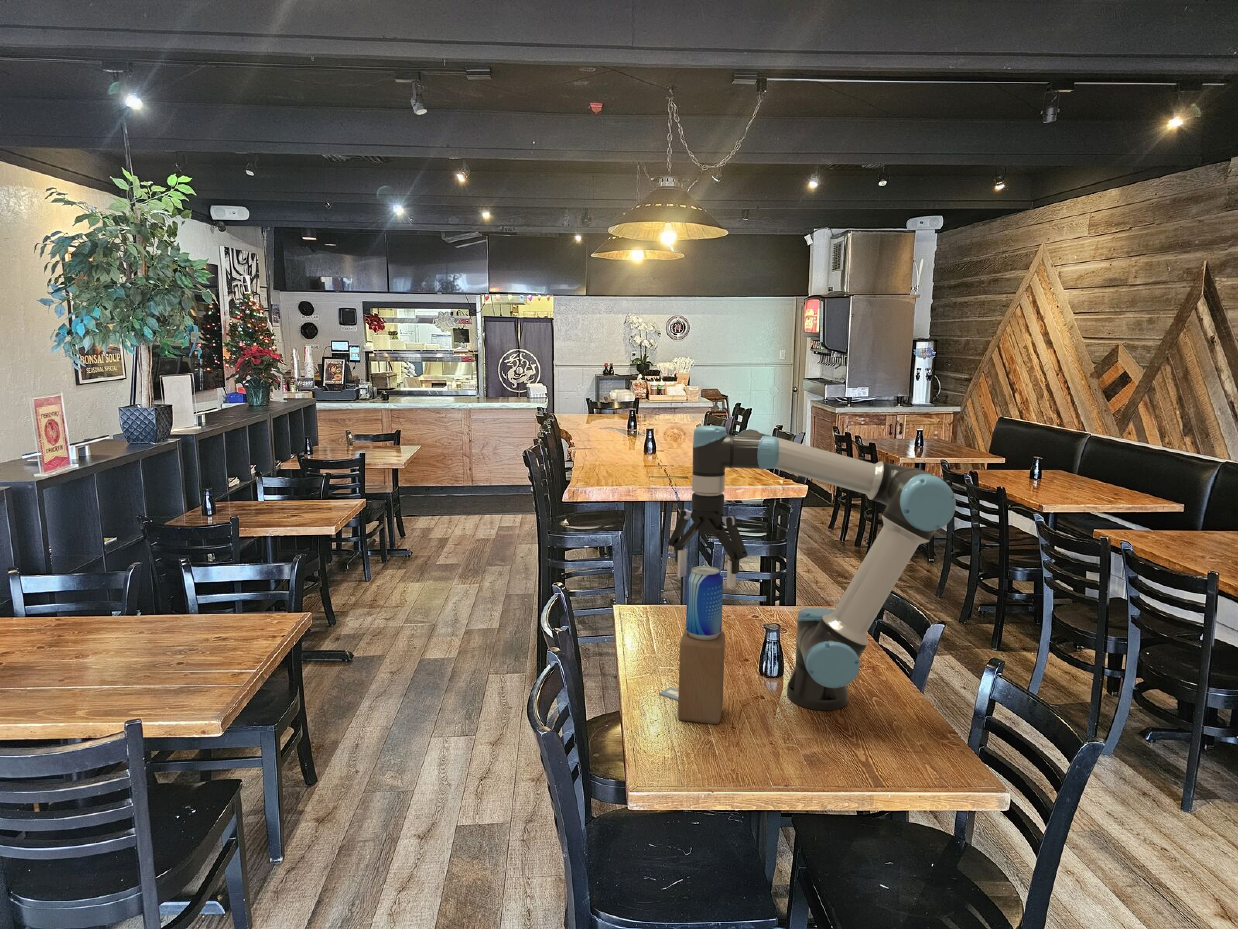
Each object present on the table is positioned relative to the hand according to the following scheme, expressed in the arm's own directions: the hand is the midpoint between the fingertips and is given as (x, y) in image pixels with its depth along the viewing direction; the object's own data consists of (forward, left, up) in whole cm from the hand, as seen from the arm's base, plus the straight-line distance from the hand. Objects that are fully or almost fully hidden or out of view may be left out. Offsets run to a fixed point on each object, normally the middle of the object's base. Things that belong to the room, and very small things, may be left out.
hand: (705, 581), depth 183 cm
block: (0, 0, -33) cm, 33 cm away
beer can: (0, 0, -13) cm, 13 cm away
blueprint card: (+10, -5, -33) cm, 35 cm away
